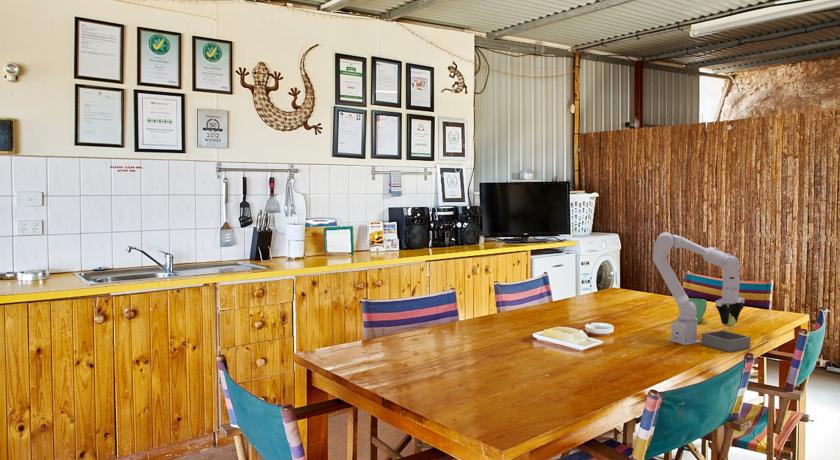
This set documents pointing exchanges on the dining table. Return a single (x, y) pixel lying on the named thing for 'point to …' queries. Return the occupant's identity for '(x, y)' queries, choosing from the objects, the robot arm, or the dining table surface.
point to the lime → (730, 321)
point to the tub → (725, 341)
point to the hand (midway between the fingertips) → (729, 322)
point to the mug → (699, 308)
